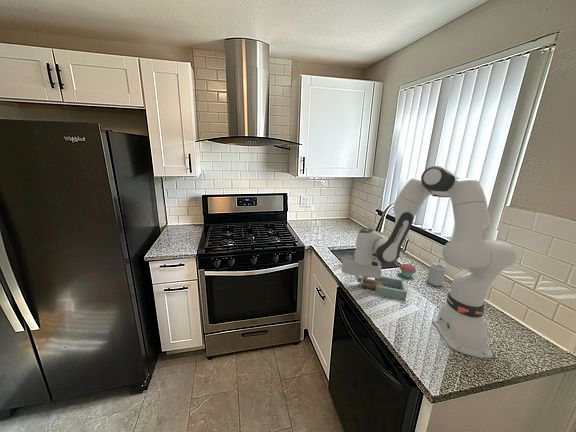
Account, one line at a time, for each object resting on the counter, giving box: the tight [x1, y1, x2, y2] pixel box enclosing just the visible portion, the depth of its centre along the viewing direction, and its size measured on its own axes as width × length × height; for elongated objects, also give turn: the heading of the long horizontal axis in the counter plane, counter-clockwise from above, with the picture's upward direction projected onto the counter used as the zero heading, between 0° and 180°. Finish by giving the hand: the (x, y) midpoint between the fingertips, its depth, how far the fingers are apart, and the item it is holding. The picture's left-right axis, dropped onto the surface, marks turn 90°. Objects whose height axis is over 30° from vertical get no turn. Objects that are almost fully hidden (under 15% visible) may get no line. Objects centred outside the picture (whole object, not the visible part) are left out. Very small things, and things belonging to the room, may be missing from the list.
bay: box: [374, 275, 408, 301], centre depth 124 cm, size 12×14×4 cm
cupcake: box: [399, 257, 417, 279], centre depth 139 cm, size 9×8×12 cm
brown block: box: [361, 276, 384, 290], centre depth 126 cm, size 7×10×5 cm, turn 73°
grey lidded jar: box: [426, 261, 447, 287], centre depth 132 cm, size 8×8×12 cm
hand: (359, 282), depth 128 cm, fingers closed
